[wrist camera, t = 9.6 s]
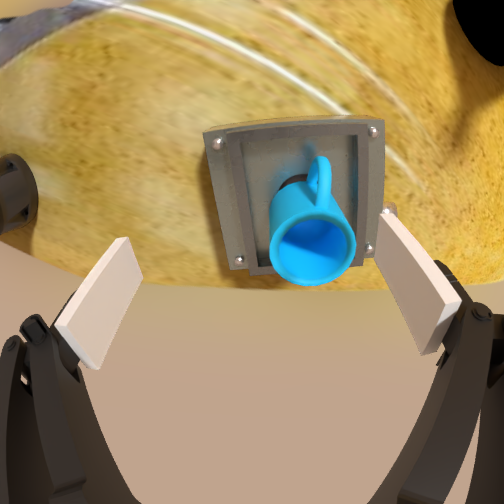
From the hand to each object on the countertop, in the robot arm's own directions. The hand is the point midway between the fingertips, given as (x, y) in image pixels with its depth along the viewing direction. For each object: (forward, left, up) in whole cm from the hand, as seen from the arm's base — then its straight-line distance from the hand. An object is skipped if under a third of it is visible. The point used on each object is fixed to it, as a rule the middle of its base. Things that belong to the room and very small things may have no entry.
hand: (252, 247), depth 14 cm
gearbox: (+6, -5, -24) cm, 25 cm away
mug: (+5, -5, -18) cm, 19 cm away
